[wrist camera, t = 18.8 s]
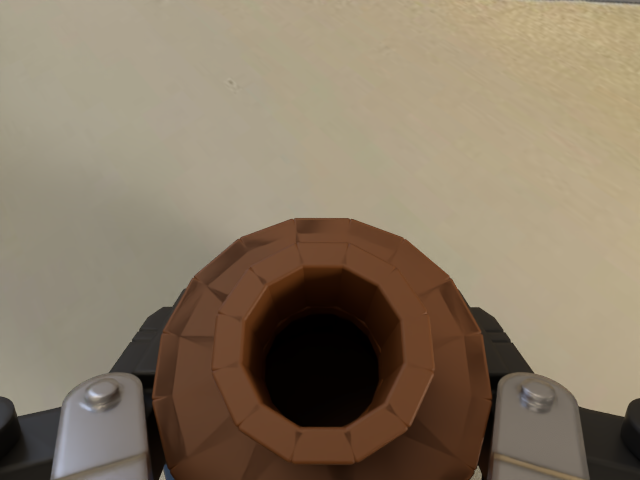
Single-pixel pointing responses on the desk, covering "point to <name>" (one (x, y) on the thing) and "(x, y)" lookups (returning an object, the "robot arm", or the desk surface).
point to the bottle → (321, 362)
